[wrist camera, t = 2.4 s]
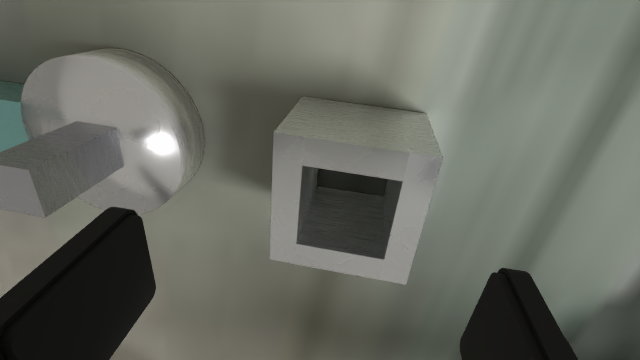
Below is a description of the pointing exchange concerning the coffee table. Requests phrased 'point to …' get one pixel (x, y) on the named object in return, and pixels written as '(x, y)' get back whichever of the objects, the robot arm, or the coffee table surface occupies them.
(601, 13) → the coffee table surface
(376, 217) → the hollow white cube
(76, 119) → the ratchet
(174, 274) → the coffee table surface
